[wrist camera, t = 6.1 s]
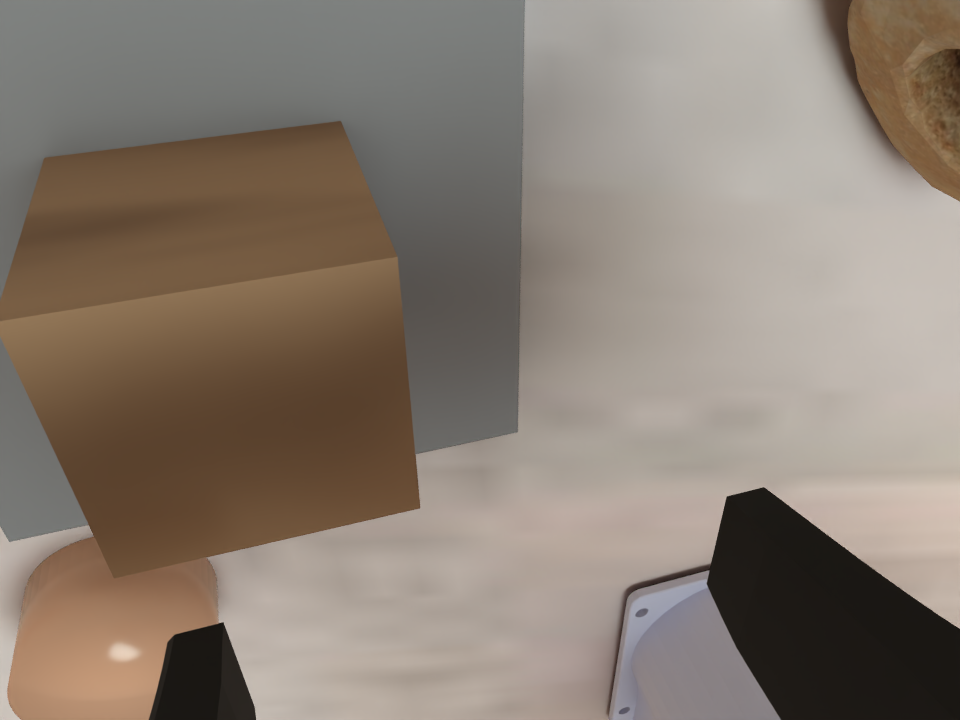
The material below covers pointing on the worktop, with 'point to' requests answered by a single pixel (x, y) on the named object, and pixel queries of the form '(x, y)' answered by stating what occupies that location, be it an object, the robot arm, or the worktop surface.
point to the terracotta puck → (101, 634)
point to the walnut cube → (214, 342)
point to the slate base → (281, 104)
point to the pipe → (913, 80)
